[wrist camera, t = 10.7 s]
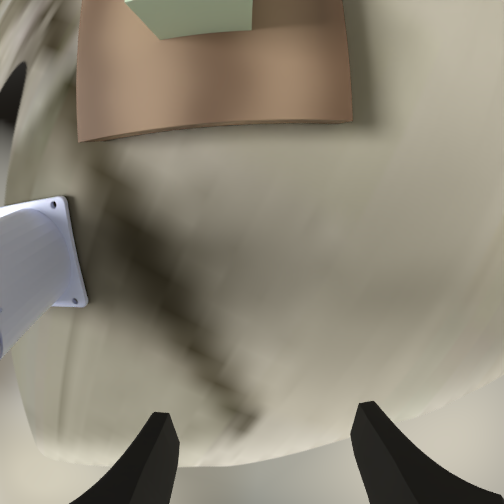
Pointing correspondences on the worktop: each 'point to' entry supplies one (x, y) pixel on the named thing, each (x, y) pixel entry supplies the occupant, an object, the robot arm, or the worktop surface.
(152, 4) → the sage block
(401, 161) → the worktop surface
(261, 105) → the walnut base
